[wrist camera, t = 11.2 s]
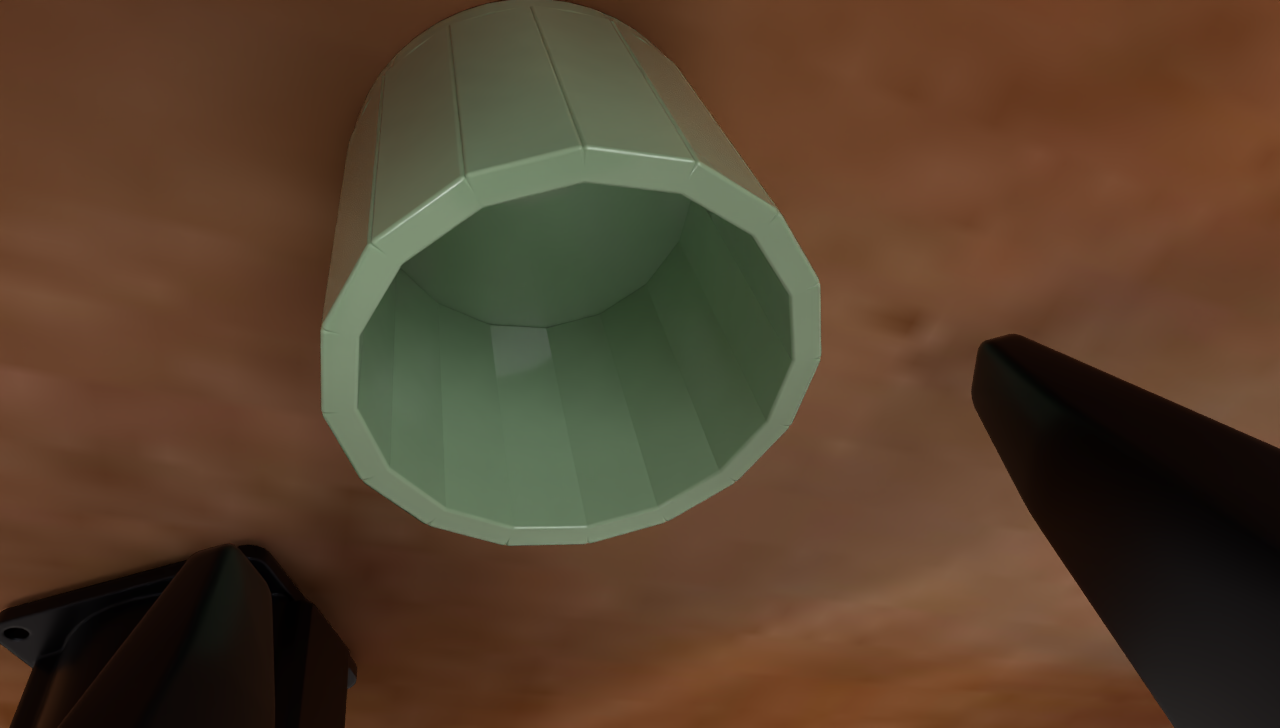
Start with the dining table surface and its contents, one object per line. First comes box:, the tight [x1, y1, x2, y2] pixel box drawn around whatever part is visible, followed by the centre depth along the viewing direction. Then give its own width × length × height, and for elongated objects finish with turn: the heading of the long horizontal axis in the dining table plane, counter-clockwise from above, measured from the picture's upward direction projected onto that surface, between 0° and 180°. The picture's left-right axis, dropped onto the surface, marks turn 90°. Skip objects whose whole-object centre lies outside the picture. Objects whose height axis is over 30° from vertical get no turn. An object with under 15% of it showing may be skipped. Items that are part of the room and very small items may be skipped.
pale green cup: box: [320, 0, 821, 546], centre depth 13 cm, size 7×7×6 cm
